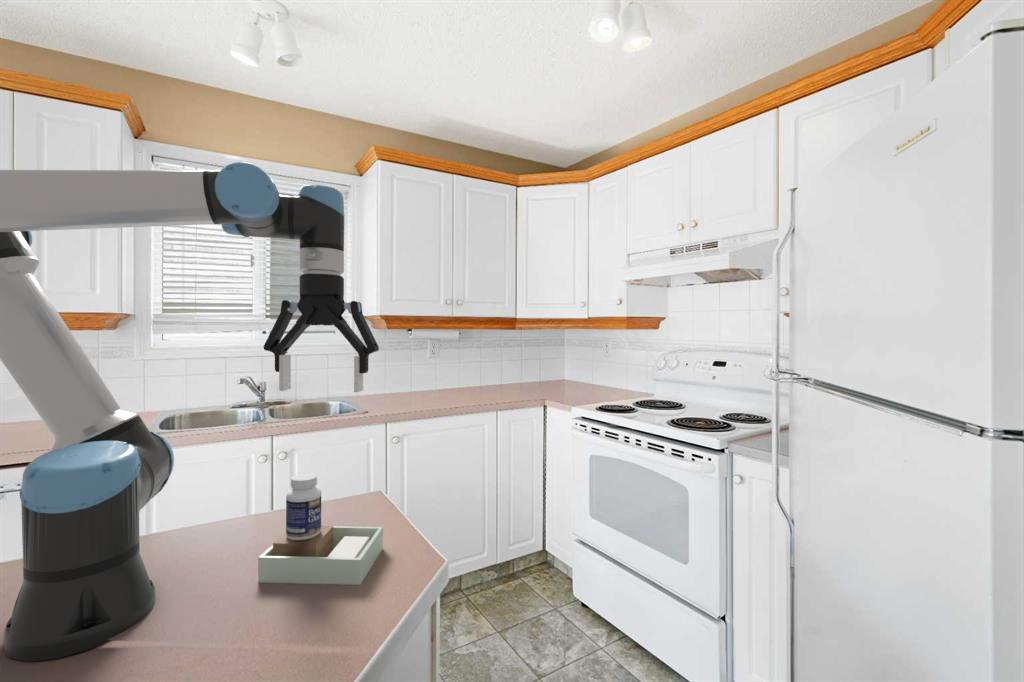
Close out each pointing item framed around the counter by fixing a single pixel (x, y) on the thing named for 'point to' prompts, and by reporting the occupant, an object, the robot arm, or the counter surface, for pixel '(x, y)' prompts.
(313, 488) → the pill bottle
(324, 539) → the walnut block
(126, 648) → the counter surface
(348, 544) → the white box
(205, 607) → the counter surface
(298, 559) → the box
